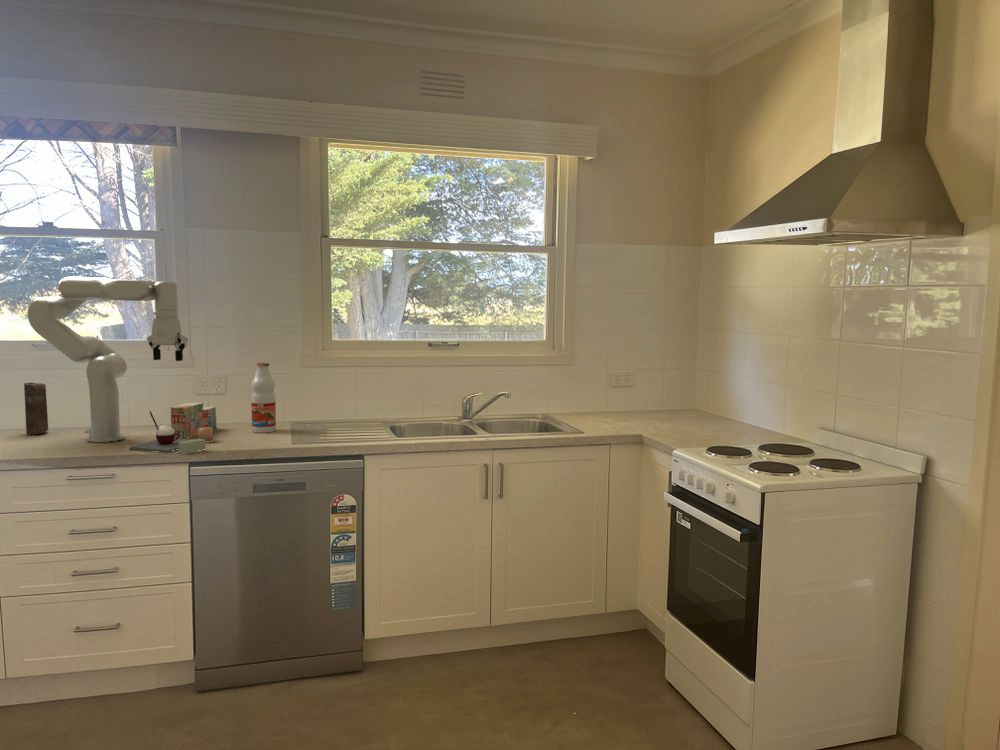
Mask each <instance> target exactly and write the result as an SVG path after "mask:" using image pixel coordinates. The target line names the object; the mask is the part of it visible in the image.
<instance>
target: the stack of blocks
mask: <svg viewBox="0 0 1000 750" xmlns="http://www.w3.org/2000/svg"><path fill="white" fill-rule="evenodd" d="M216 408H217V407H216V406H204V403H203V402H191V401H190V402H185V403H182V404H178V405H174V406H171V407H170V422H171V425H170V427H171V428H172V429H173V430H174V433H175V434H179V437H182V438H181V439H185V438H186V439H188V438H187V437H189V438H191V437H190V436H193V435H196V436H198V435H197V434H198V428H201V427H212V428H213V429H214V430H217V412H216V410H217V409H216ZM175 437H178V435H175ZM193 437H194V436H193Z"/></svg>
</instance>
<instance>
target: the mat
mask: <svg viewBox="0 0 1000 750" xmlns="http://www.w3.org/2000/svg"><path fill="white" fill-rule="evenodd" d="M175 439H176V438H174V440H175ZM186 440H188V438H186V439H185V438H178V439H177V440H176V441H174V442H172V443H171V444H166V445H162V444H159V443H158V441H157V439H154V440H150V441H147V442H144V443H140V444H136V445H132V446H129V447H128V448H129V451H138V450H142V451H141V452H150V451H159V452H158V453H162V452H167V453H166V454H169V453H168V452H170V451H172V450H176V449H178V442H180V441H186ZM170 453H171V452H170Z"/></svg>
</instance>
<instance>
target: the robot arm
mask: <svg viewBox="0 0 1000 750" xmlns="http://www.w3.org/2000/svg"><path fill="white" fill-rule="evenodd" d="M57 291H58V293H57V294H56V295H55V296H42V297H38V298H35V299H34V300H32V301H31V302H30V304H29V306H28V307H27V308H28V309H27V319H28V322H29V325H30V326H31V328H32V329H33V330H34V331H35V332H36V333H37V334H38V335H39V336H40V337H41V338H43V339H44V340H45V341H47V342H48V343H49V344H51V345H52V346H53V347H54V348H55V349H57V350H58V351H59V352H61V353H62V354H63V355H64V356H66V357H67V358H68V359H70V361H73V362H75V363H86V362H88V364H87V366H86V372H85V373H86V378H87V382H88V383H87V384H88V389H89V404H90V405H89V406H90V407H89V408H90V424H91V425H90V426H91V427H87V428H86V429H84V430H83V431H84V432H83V433H84V434H89V435H88V436H87V437H86V441H87V442H89V441H90V442H91V443H110V441H113V442H118V440H119V441H122V440H124V439H125V438H126V435H125V434H123V433H121V422H120V396H119V395H120V394H119V387H118V383H117V380H118V379H119V378H121V377H123V376H124V375H125V374H126V371H127V369H128V365H127V362H126V360H125V359H124V357H123V356H121V355H120V354H119V353H118V352H116V351H115V350H114V349H112V348H111V347H110V346H109V345H107V344H106V343H105V342H103V341H102V340H100V339H99V338H97V337H95V336H88V335H86V336H82V335H80V334H78V333H77V332H76V331H74V330H73V329H72V328H70V327H69V326H68V325H67V324H65V323H63V322H61V321H60V320H64V319H65V318H68V317H69V316H70V315H72V314H73V313H74V312H75V311H76V310H77V309H78V308H79V307H81V306H82V305H83V304H84V303H86V301H99V302H104V301H105V302H106V301H107V302H108V301H130V302H142V301H143V302H150V301H154V305H155V306H154V308H155V311H154V312H153V315H154V316H155V317H153V321H152V327H151V328H152V329H151V334H150V335H149V336H147V337H146V341H147V342H148V345H149V347H151V348H150V349H151V350H152V356H153V361H159V360H161V359H162V356H161V349H160V347H161V346H173V347H174V348H175V351H174V352H175V354H174V355H175V357H174V358H175V361H176V362H182V361H183V357H184V356H183V355H184V353H183V351H184V350H185V348H186V347H187V344H188V342H189V338H187V337H186V336H184V335H183V333H182V327H181V322H180V318H179V317H178V312H179V311H178V287H177V283H176V282H174V281H153V280H152V281H151V280H143V279H142V280H141V279H139V280H138V279H115V278H114V279H112V278H108V277H100V276H99V277H96V276H94V277H91V276H65V277H63V278H62V279H60V280H59V282H58V284H57Z"/></svg>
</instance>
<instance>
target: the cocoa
mask: <svg viewBox="0 0 1000 750" xmlns="http://www.w3.org/2000/svg"><path fill="white" fill-rule="evenodd" d="M149 414H150V417H151V418H152V422H154V423H153V424H154V425H155V428H156V429H155V436H156V438H155V439H156V440H157V441H158V443H159V444H162V445H166V444H171V443H172V442H174V441H176V440H177V439H180V438H179V434H175V433H174V430H173V429H172V428H171V426H169V425H164V424H163V425H161V426H158V424H157V421H156V420H155V417H154V416H153V413H152V411H151V410H150V411H149ZM175 435H178V437H177V438H175ZM174 439H175V440H174Z"/></svg>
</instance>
